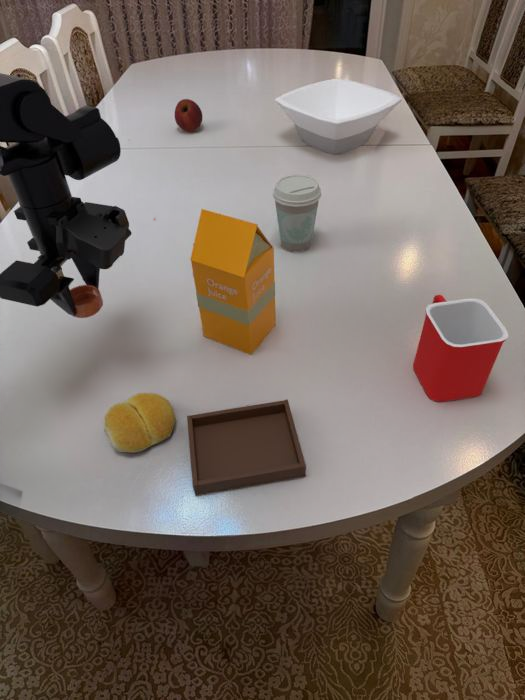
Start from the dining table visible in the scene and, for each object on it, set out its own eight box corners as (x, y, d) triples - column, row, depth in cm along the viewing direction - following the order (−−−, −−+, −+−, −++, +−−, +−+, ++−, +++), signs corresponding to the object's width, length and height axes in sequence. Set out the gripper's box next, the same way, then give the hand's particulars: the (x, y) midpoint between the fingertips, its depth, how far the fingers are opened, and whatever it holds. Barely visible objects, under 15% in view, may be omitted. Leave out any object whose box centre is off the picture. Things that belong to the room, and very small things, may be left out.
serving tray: (195, 496, 58) (192, 486, 56) (189, 426, 65) (186, 415, 64) (305, 476, 59) (306, 466, 58) (287, 410, 66) (287, 399, 65)
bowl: (335, 171, 115) (338, 126, 108) (267, 139, 129) (266, 97, 122) (404, 141, 125) (411, 98, 118) (334, 115, 140) (336, 75, 132)
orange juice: (229, 307, 82) (217, 195, 68) (276, 324, 78) (273, 210, 64) (202, 336, 77) (183, 222, 63) (251, 356, 74) (241, 240, 60)
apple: (171, 133, 134) (166, 102, 129) (185, 123, 139) (180, 92, 134) (195, 137, 132) (191, 105, 127) (208, 126, 137) (205, 95, 132)
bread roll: (186, 431, 65) (181, 413, 62) (121, 465, 61) (113, 447, 58) (159, 391, 70) (154, 372, 67) (98, 421, 66) (90, 402, 63)
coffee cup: (270, 254, 92) (268, 194, 84) (277, 230, 98) (276, 171, 90) (316, 257, 91) (319, 197, 83) (320, 232, 97) (323, 173, 88)
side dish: (66, 322, 66) (61, 309, 65) (69, 300, 70) (64, 287, 68) (103, 316, 67) (98, 304, 65) (104, 295, 70) (100, 282, 69)
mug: (488, 396, 67) (514, 339, 59) (430, 405, 66) (448, 348, 58) (451, 336, 75) (468, 279, 68) (398, 343, 74) (410, 287, 67)
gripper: (54, 251, 48) (97, 362, 59) (146, 169, 61) (168, 273, 72) (-37, 234, 51) (20, 343, 62) (69, 159, 64) (101, 261, 75)
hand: (83, 302), depth 68 cm, fingers closed on side dish, 5 cm apart
